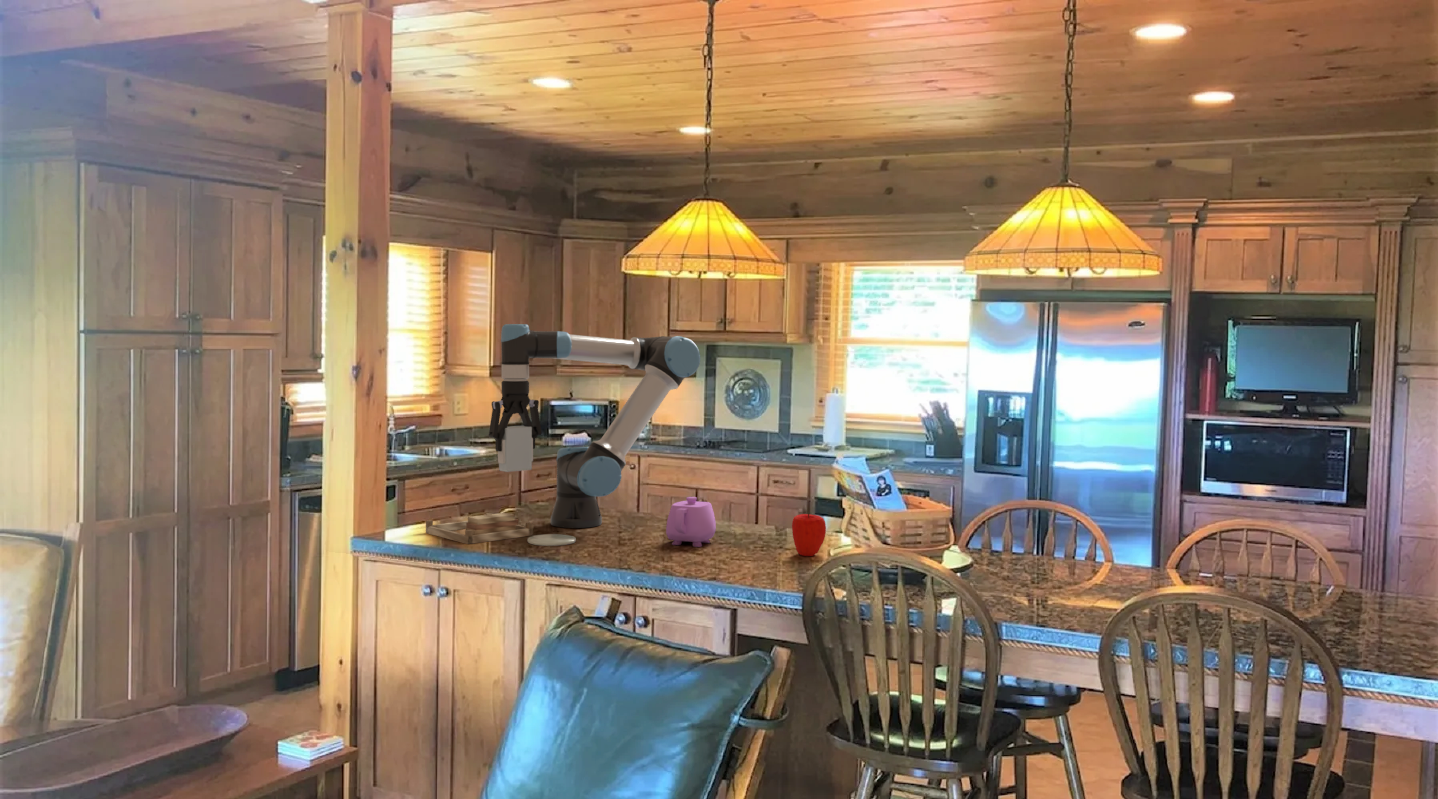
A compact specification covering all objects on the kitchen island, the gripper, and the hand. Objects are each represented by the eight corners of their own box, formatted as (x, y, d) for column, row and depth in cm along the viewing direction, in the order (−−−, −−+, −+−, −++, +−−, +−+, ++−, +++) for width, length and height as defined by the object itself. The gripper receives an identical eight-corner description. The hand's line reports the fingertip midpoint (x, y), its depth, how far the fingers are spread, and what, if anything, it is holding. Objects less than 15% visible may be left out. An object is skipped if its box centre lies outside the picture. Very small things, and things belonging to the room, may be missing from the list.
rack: (489, 524, 339) (489, 513, 339) (532, 535, 323) (532, 522, 323) (425, 532, 325) (425, 520, 324) (467, 544, 309) (467, 531, 309)
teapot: (699, 551, 304) (700, 503, 303) (656, 547, 308) (656, 500, 307) (724, 538, 323) (725, 493, 322) (683, 535, 327) (684, 491, 326)
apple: (832, 555, 301) (832, 514, 300) (809, 559, 295) (810, 517, 294) (806, 550, 307) (807, 510, 306) (784, 554, 301) (785, 513, 300)
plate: (556, 535, 324) (556, 532, 324) (585, 541, 314) (585, 539, 314) (518, 540, 315) (518, 537, 315) (546, 547, 305) (546, 544, 305)
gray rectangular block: (524, 468, 323) (524, 425, 322) (531, 469, 320) (531, 426, 319) (499, 470, 318) (498, 427, 317) (506, 472, 315) (506, 428, 314)
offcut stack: (509, 533, 326) (509, 512, 326) (519, 535, 323) (519, 514, 322) (465, 538, 316) (465, 517, 316) (475, 541, 313) (475, 519, 312)
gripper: (540, 378, 327) (540, 458, 328) (474, 380, 313) (475, 463, 315) (554, 379, 321) (555, 460, 323) (488, 381, 308) (488, 466, 309)
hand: (515, 461), depth 319 cm, fingers closed on gray rectangular block, 8 cm apart
